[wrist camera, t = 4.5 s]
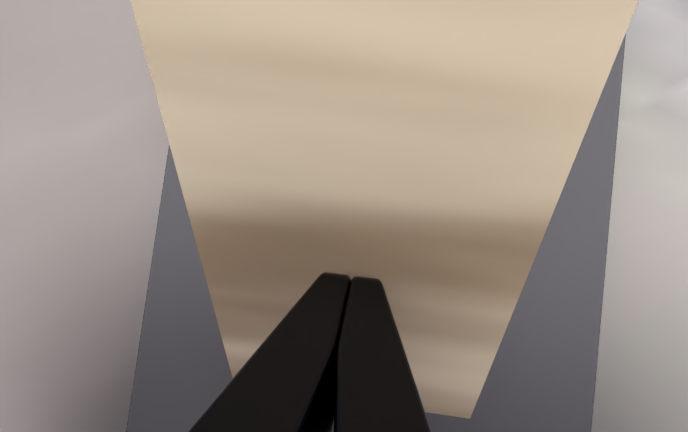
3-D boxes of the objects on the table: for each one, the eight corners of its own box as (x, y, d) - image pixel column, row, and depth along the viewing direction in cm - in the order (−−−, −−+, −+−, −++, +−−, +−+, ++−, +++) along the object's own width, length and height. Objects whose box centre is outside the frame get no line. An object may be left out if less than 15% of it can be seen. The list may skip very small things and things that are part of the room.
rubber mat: (572, 542, 15) (580, 553, 14) (129, 470, 16) (119, 478, 16) (625, -48, 16) (633, -60, 16) (210, -78, 17) (204, -90, 17)
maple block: (470, 418, 12) (847, -513, 3) (234, 384, 12) (-8, -512, 4) (470, 236, 15) (651, -458, 7) (284, 214, 16) (222, -463, 7)
